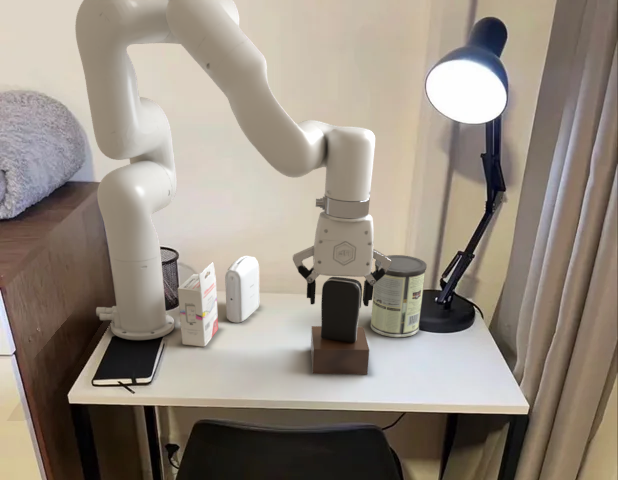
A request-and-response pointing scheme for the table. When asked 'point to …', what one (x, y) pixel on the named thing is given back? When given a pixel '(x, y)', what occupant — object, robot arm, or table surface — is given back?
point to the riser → (339, 354)
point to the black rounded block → (340, 309)
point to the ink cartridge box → (198, 307)
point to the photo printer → (242, 288)
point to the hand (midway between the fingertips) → (338, 302)
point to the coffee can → (398, 297)
